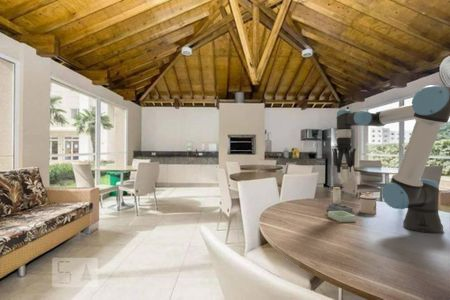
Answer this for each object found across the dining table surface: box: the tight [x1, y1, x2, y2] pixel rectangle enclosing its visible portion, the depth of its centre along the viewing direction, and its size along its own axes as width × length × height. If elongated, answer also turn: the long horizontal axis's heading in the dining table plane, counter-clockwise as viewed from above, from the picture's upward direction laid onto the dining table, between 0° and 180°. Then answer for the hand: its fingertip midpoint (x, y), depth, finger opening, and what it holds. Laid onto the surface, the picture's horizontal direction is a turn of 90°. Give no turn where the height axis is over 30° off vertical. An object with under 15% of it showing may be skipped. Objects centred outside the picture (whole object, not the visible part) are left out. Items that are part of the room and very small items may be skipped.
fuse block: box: [326, 202, 355, 215], centre depth 158 cm, size 14×8×4 cm, turn 9°
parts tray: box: [327, 210, 357, 223], centre depth 143 cm, size 11×9×3 cm
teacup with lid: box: [359, 191, 377, 215], centre depth 160 cm, size 12×9×12 cm
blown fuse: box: [339, 162, 349, 185], centre depth 155 cm, size 4×4×12 cm
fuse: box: [332, 186, 341, 205], centre depth 162 cm, size 4×4×12 cm
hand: (343, 178), depth 155 cm, fingers closed on blown fuse, 4 cm apart
